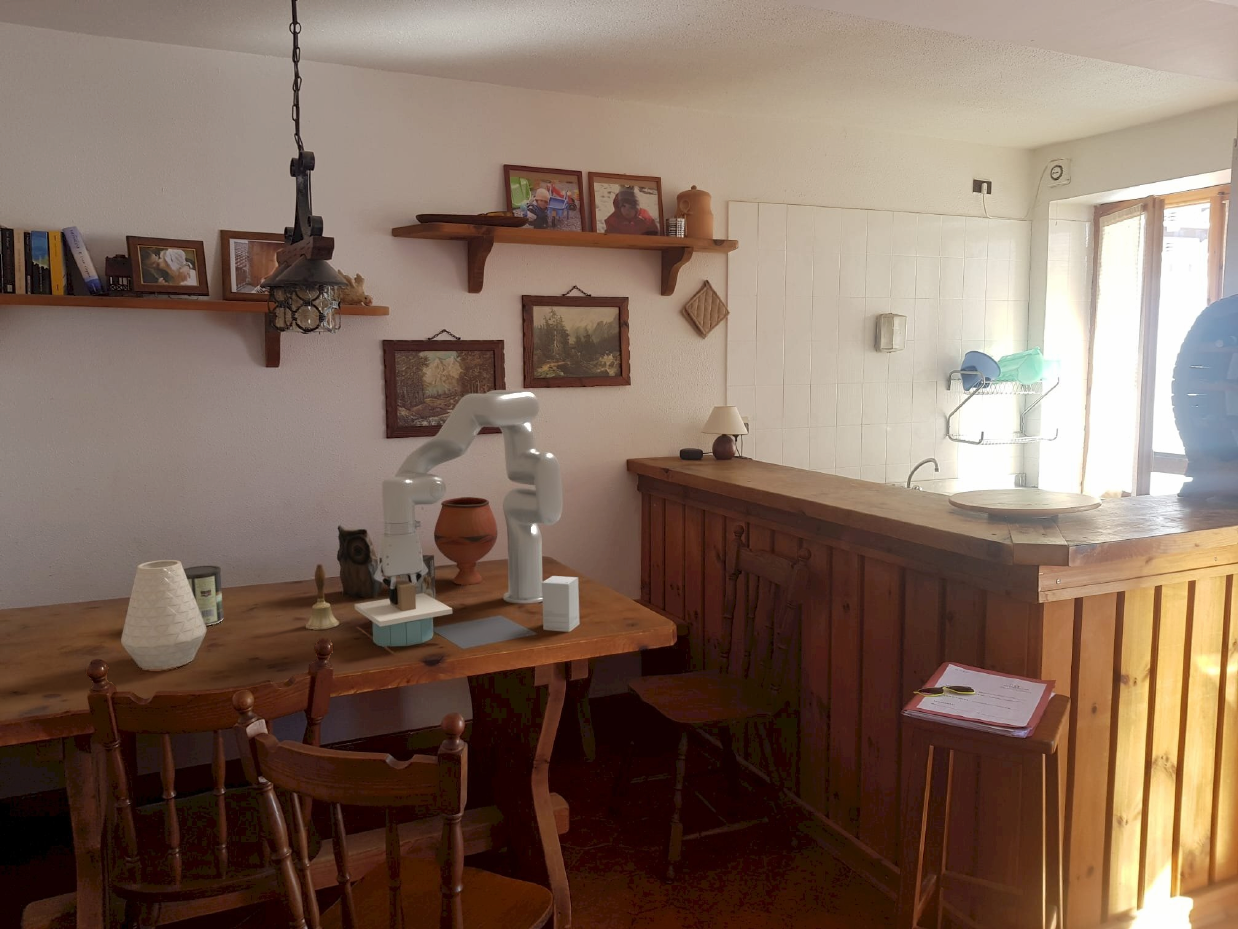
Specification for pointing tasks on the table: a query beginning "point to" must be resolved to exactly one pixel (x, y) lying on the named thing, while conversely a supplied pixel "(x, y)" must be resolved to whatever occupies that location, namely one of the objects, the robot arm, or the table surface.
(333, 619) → the hand bell
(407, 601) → the lid
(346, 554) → the owl
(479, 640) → the mat
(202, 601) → the coffee can
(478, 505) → the goblet
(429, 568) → the coffee box
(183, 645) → the vase
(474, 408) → the robot arm
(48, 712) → the table surface
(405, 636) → the bowl
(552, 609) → the supplement box
